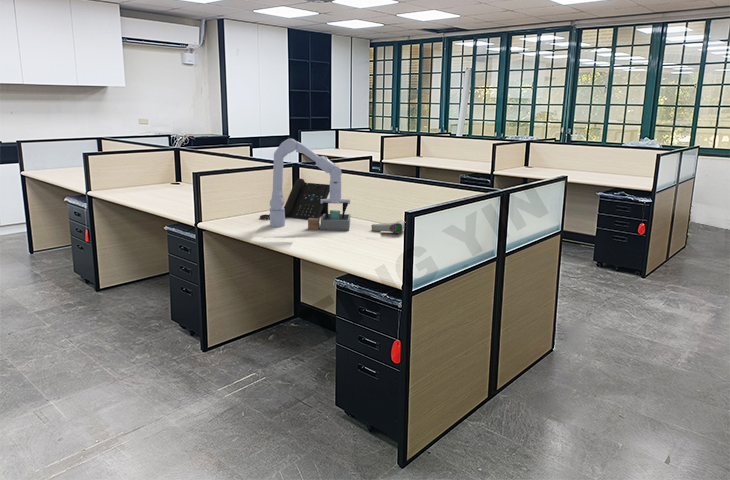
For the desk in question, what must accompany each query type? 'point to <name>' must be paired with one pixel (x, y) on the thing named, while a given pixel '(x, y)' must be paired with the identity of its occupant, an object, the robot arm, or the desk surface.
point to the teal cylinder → (334, 214)
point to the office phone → (305, 200)
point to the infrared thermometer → (389, 227)
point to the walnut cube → (313, 224)
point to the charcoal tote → (335, 223)
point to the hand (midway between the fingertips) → (335, 217)
